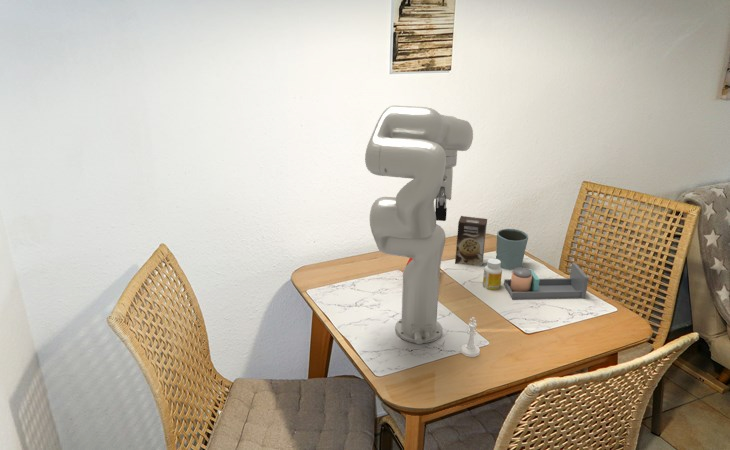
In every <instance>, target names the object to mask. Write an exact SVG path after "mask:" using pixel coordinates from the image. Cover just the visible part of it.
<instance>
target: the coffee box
mask: <svg viewBox="0 0 730 450" xmlns="http://www.w3.org/2000/svg"><path fill="white" fill-rule="evenodd" d="M487 225H488V218H483V217H482V218H481V217H472V216H465V215H460V217H459V220H458V224H457V235H456V236H457V237H456V247H455V248H456V249H455V259H454V265H467V266H473V267H474V266H475V267H482V266H483V264H484V254H485V244H486V242H485V241H486V234H487Z"/></svg>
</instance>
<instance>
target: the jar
mask: <svg viewBox="0 0 730 450" xmlns="http://www.w3.org/2000/svg"><path fill="white" fill-rule="evenodd" d="M531 283H532V273H531V270H529V268H527V267H523V266H522V267H517V268H515V269H514V270H512V272H511V286H510V288H511V290H512V292H530V291H531Z"/></svg>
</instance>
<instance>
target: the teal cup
mask: <svg viewBox="0 0 730 450" xmlns="http://www.w3.org/2000/svg"><path fill="white" fill-rule="evenodd" d="M528 241H529V234H528V233H526V232H525V231H523V230H520V229H515V228H502V229H499V230H497V233H496V252H495V253H496V255H495V259H498V260H500V261H501V265H500V267H501V268H502V270H509V271H510V270H511V271H514V269H515V268H517V267H523V262H524V258H525V254H526V253H525V251H526V249H527V246H528V245H527V244H528Z"/></svg>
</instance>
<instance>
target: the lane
mask: <svg viewBox="0 0 730 450" xmlns="http://www.w3.org/2000/svg"><path fill="white" fill-rule="evenodd" d="M589 278H590V277H589V276H588V275H587V274H586V273H585V272H584V271H583V270H582V268H581V267H580V266H579V265H578V264H577V263H576V262H572V263H571V267H570V274H569V277H566V278H565V277H561V278H557V277H556V278H552V277H551V278H539V279H540V280H539V288H538V291H536V292H512V290H511V288H510V286H511V279H509V278H508V279H504V280H503V286H504V288H505V289H506V291H507V293H508V295H509V296H510V298H511V299H512V301H525V300H526V301H533V300H575V299H576V300H584V299H586V296H587V289H588V284H589Z"/></svg>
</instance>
